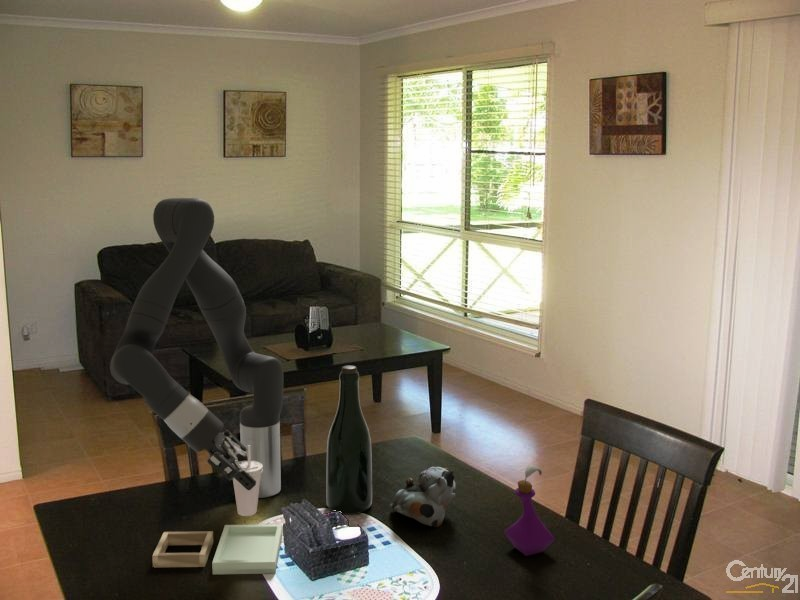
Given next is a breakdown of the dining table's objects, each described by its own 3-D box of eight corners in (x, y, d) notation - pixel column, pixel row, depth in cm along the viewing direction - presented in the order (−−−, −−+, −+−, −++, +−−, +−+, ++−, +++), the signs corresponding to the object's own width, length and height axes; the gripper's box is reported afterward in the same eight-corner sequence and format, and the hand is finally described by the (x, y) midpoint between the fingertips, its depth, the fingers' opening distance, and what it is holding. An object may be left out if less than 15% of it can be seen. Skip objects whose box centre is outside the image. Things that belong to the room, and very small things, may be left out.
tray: (225, 535, 175) (225, 525, 175) (282, 534, 176) (282, 524, 175) (212, 574, 159) (212, 562, 159) (275, 573, 160) (275, 562, 160)
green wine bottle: (318, 510, 187) (317, 369, 181) (338, 493, 197) (338, 358, 191) (360, 519, 184) (360, 375, 177) (379, 500, 193) (380, 363, 187)
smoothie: (256, 520, 162) (255, 452, 160) (225, 517, 163) (224, 449, 161) (267, 507, 168) (267, 441, 166) (238, 503, 170) (237, 438, 167)
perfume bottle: (524, 561, 166) (528, 477, 162) (503, 545, 172) (506, 463, 169) (554, 553, 169) (558, 470, 166) (532, 538, 176) (536, 457, 172)
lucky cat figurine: (388, 504, 191) (414, 448, 192) (436, 526, 191) (461, 471, 192) (388, 514, 176) (415, 454, 178) (439, 538, 176) (466, 478, 177)
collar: (164, 543, 172) (163, 531, 171) (213, 542, 172) (213, 531, 172) (152, 567, 162) (152, 555, 161) (204, 566, 162) (204, 554, 162)
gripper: (200, 421, 155) (264, 481, 157) (213, 398, 169) (272, 453, 171) (172, 448, 155) (236, 507, 158) (187, 423, 169) (246, 478, 172)
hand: (255, 479), depth 165 cm, fingers closed on smoothie, 6 cm apart
